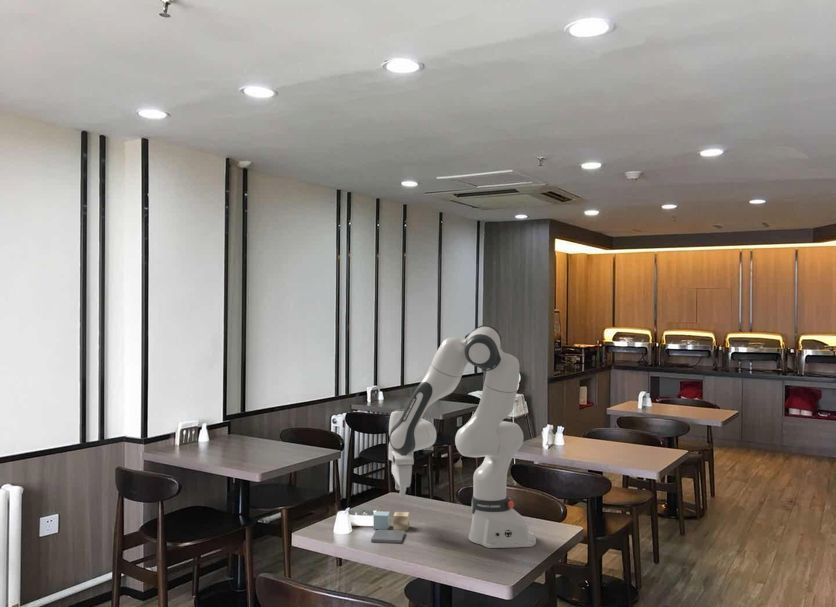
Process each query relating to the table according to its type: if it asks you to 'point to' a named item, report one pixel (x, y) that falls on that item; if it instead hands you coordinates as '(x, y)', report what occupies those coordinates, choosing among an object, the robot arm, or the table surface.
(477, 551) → the table surface
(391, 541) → the slate coaster
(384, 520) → the bluegrey cube
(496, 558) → the table surface
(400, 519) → the birch cube
